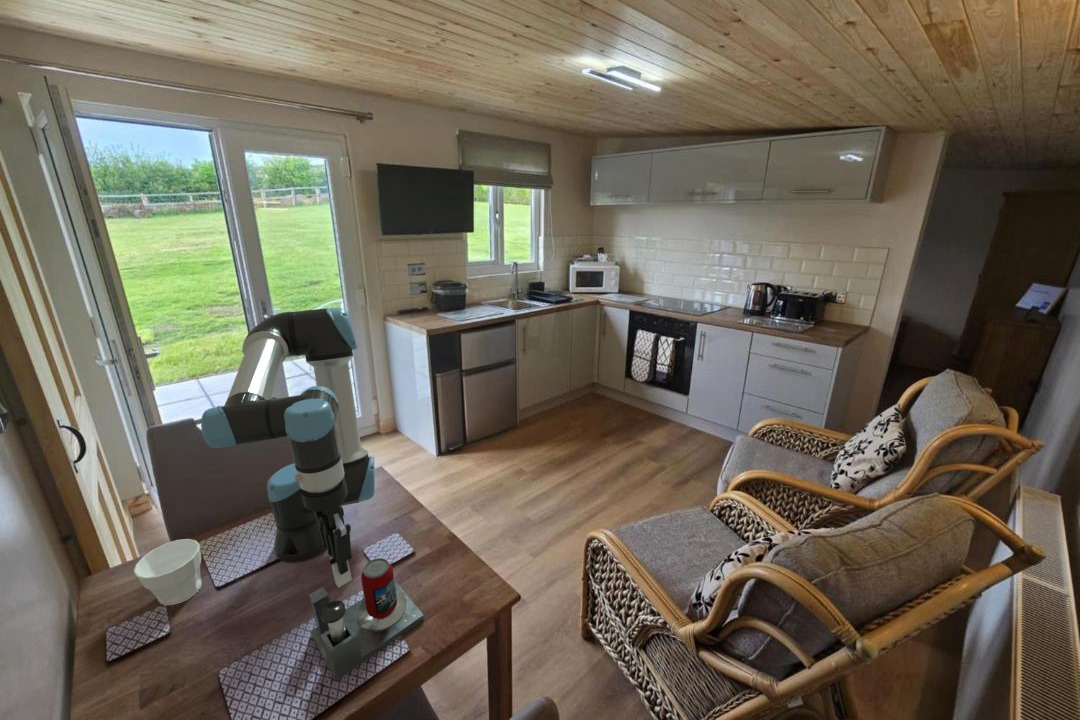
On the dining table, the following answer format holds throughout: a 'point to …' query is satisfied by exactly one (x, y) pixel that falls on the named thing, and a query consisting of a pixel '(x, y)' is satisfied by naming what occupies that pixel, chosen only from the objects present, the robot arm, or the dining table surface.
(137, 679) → the dining table surface
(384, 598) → the beverage can
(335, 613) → the plunger
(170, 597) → the cup
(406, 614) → the press
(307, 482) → the robot arm
